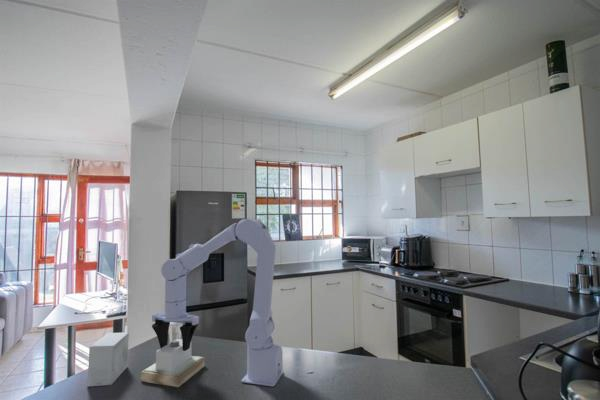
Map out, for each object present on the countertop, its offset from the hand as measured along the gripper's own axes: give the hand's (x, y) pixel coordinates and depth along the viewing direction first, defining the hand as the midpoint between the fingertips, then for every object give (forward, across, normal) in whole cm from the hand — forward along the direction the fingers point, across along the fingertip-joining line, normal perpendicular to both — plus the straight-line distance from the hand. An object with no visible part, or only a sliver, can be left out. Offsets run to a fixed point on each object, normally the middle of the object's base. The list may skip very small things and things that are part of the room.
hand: (174, 348), depth 87 cm
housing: (+4, 0, 0) cm, 4 cm away
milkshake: (+7, +12, -16) cm, 21 cm away
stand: (+7, 0, 0) cm, 7 cm away
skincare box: (+7, +17, +6) cm, 20 cm away
